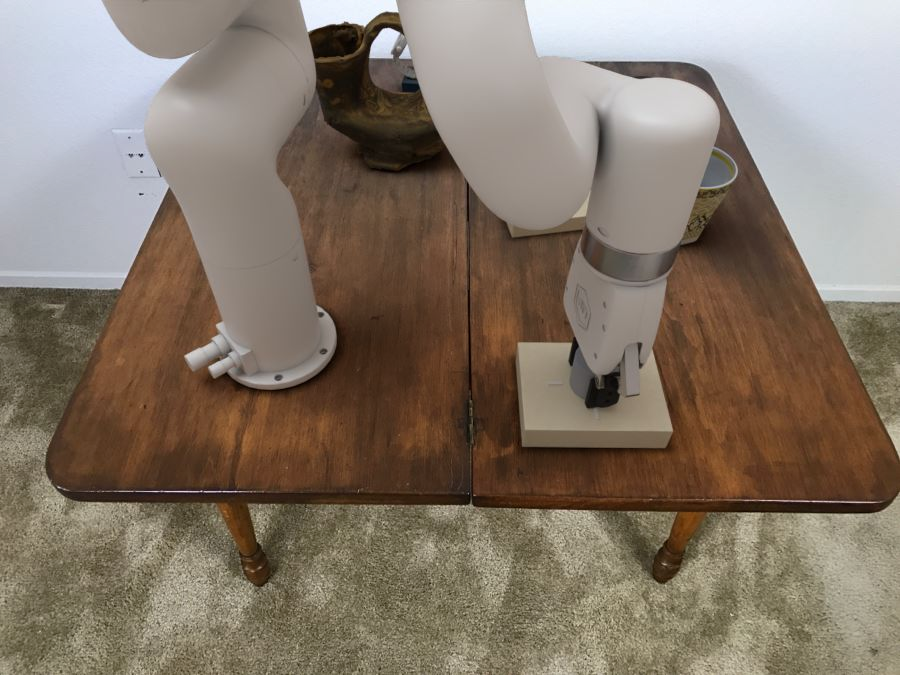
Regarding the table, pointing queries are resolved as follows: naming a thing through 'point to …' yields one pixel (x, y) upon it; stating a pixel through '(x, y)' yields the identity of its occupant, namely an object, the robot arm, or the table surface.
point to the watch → (404, 67)
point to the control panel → (565, 414)
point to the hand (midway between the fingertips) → (592, 381)
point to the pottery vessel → (370, 97)
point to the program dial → (582, 375)
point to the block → (569, 225)
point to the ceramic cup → (710, 193)
